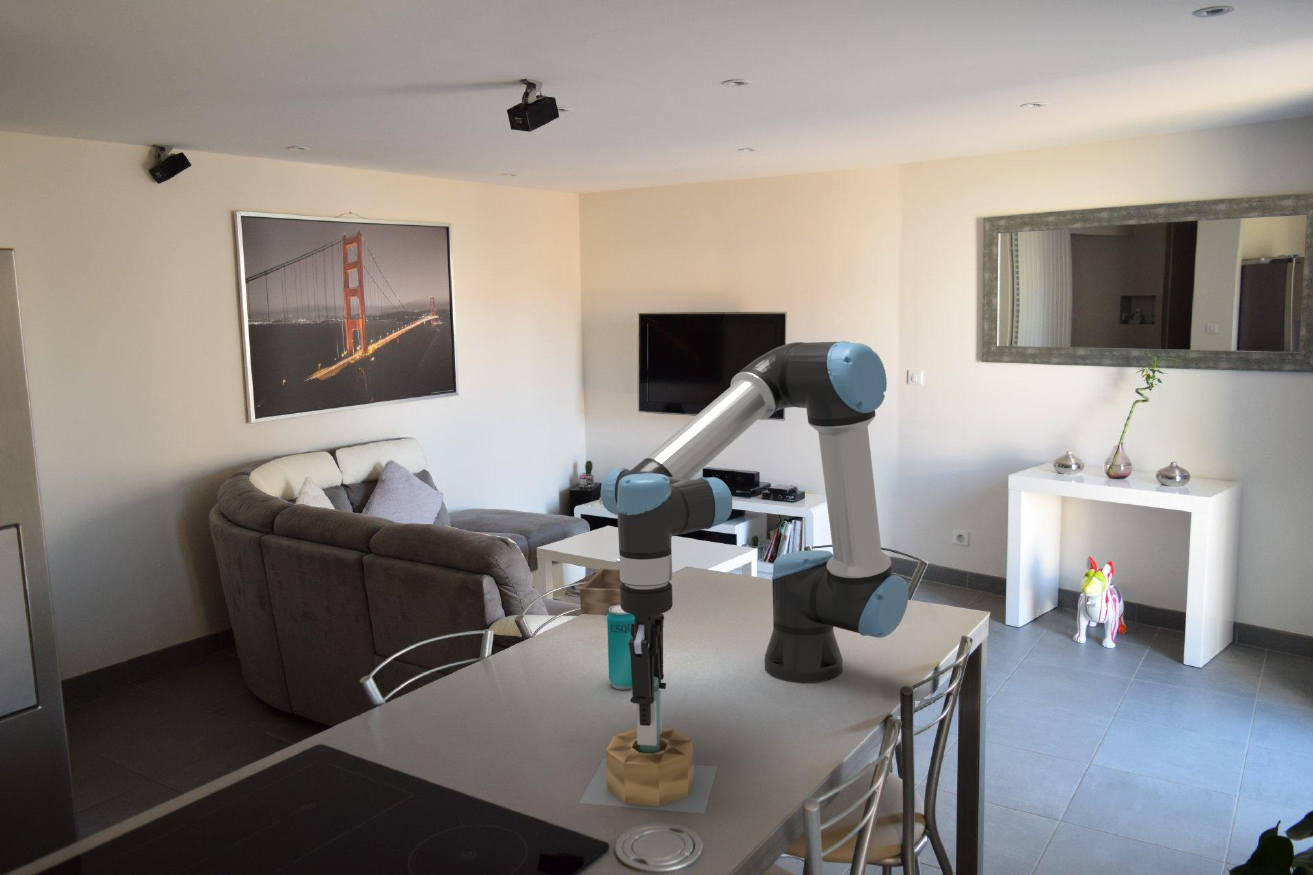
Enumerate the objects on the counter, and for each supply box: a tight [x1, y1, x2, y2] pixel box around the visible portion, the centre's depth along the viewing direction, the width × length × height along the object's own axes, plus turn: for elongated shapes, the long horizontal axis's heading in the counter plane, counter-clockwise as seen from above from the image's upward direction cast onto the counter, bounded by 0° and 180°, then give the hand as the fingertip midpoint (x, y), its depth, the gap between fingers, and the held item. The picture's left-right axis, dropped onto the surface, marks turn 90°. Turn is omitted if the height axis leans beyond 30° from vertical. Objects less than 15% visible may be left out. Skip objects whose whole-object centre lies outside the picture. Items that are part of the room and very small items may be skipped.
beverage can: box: [606, 605, 635, 691], centre depth 176 cm, size 6×6×15 cm
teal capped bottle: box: [640, 676, 660, 754], centre depth 136 cm, size 3×3×14 cm
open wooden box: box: [579, 568, 623, 616], centre depth 229 cm, size 15×19×6 cm
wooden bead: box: [605, 727, 694, 806], centre depth 137 cm, size 12×12×6 cm
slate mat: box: [578, 757, 719, 815], centre depth 137 cm, size 18×14×1 cm
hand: (649, 737), depth 137 cm, fingers closed on teal capped bottle, 3 cm apart
